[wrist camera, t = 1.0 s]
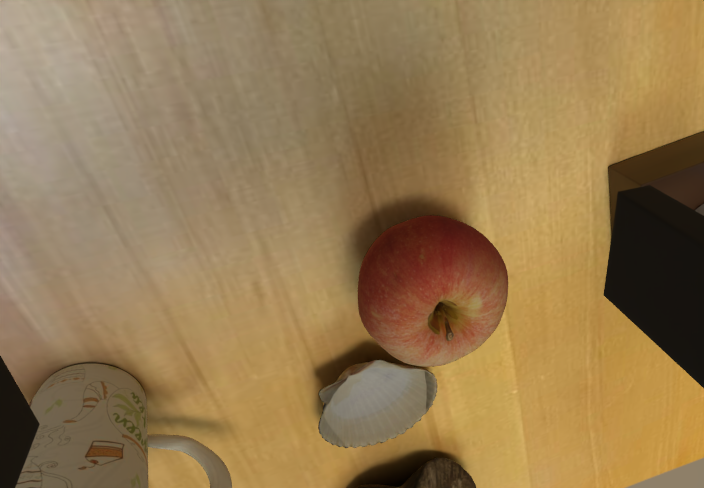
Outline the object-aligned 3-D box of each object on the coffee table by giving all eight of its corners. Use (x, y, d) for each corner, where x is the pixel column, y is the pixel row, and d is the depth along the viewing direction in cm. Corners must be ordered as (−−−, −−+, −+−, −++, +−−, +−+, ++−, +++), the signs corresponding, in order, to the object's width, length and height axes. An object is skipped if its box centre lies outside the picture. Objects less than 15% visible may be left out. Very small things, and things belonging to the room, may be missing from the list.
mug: (24, 334, 30) (-57, 492, 21) (250, 368, 34) (259, 512, 25) (7, 444, 33) (-69, 620, 24) (216, 462, 37) (213, 618, 29)
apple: (319, 289, 32) (344, 383, 25) (384, 172, 30) (433, 241, 23) (429, 326, 35) (478, 419, 28) (497, 223, 33) (571, 298, 26)
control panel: (606, 166, 32) (641, 187, 30) (749, 113, 33) (797, 129, 30) (612, 296, 37) (643, 324, 35) (736, 250, 38) (776, 273, 35)
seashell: (343, 421, 40) (448, 395, 38) (344, 462, 38) (456, 436, 36) (293, 362, 35) (413, 328, 33) (292, 405, 33) (420, 372, 31)
